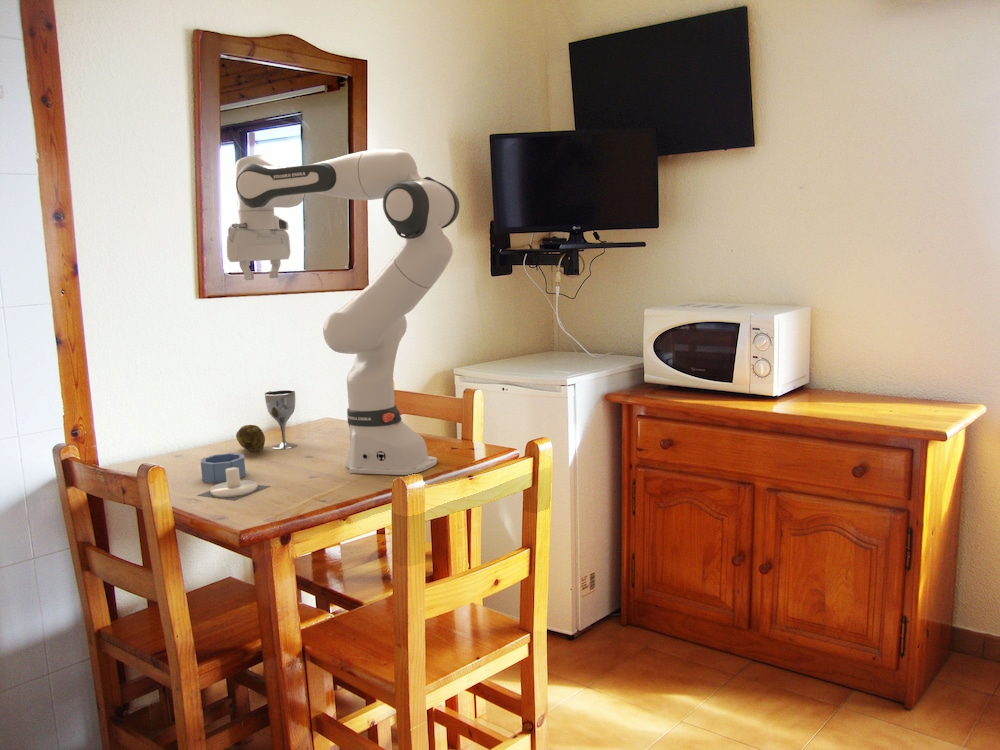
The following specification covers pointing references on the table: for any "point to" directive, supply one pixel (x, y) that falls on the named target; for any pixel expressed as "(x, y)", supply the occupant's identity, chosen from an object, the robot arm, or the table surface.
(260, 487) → the mat
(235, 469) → the lid
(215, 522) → the table surface
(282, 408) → the silver goblet
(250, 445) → the potato
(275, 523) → the table surface
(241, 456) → the bowl
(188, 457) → the table surface
